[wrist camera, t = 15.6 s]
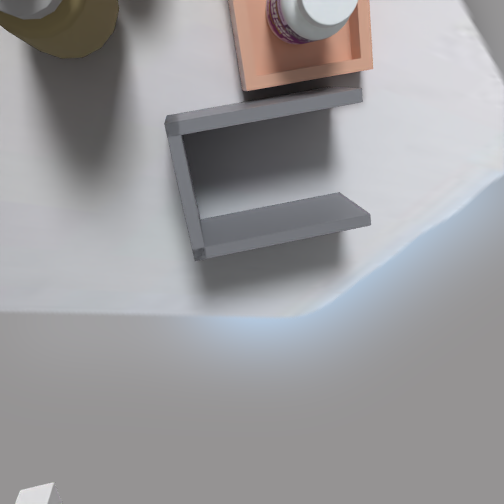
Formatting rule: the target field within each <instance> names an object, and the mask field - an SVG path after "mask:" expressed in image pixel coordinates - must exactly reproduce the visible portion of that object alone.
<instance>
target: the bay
mask: <svg viewBox="0 0 504 504" xmlns="http://www.w3.org/2000/svg"><path fill="white" fill-rule="evenodd" d="M360 102H363V99H362V88H346V87H325V88H320V89H314V90H308V91H303V92H297V93H292V94H286V95H280V96H275V97H269V98H263V99H258V100H252V101H247V102H241V103H235V104H230V105H224V106H218V107H213V108H207V109H202V110H196V111H190V112H185V113H179V114H173V115H168V116H167V117H166V120H165V123H164V124H165V129H166V133H167V138H168V142H169V147H170V151H171V156H172V160H173V165H174V169H175V174H176V178H177V183H178V187H179V192H180V196H181V201H182V205H183V210H184V214H185V219H186V223H187V228H188V232H189V237H190V241H191V246H192V250H193V254H194V259H195V261H198V260H203V259H208V258H213V257H218V256H223V255H228V254H233V253H237V252H242V251H247V250H252V249H257V248H262V247H267V246H272V245H277V244H282V243H286V242H291V241H296V240H301V239H306V238H311V237H316V236H321V235H326V234H331V233H335V232H340V231H345V230H350V229H355V228H360V227H365V226H370V225H371V218H370V213H368V212H367V211H365V210H364V209H362V208H361V207H360V206H358V205H357V204H355V203H354V202H352V201H351V200H350V199H348V198H347V197H345V196H344V195H342V194H341V193H340V192H338V193H333V194H328V195H323V196H318V197H313V198H308V199H303V200H297V201H292V202H287V203H282V204H277V205H272V206H267V207H262V208H257V209H252V210H247V211H242V212H237V213H231V214H226V215H221V216H216V217H211V218H206V219H201V220H200V215H199V211H198V206H197V201H196V196H195V192H194V187H193V182H192V177H191V173H190V168H189V163H188V158H187V154H186V149H185V144H184V139H183V135H184V134H189V133H195V132H200V131H206V130H211V129H217V128H222V127H228V126H233V125H239V124H244V123H250V122H255V121H261V120H266V119H272V118H278V117H283V116H289V115H294V114H300V113H305V112H311V111H316V110H322V109H327V108H333V107H338V106H344V105H349V104H355V103H360Z"/></svg>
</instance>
